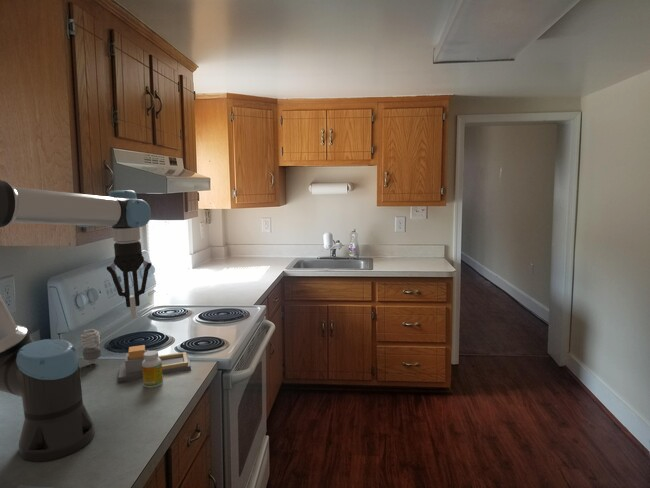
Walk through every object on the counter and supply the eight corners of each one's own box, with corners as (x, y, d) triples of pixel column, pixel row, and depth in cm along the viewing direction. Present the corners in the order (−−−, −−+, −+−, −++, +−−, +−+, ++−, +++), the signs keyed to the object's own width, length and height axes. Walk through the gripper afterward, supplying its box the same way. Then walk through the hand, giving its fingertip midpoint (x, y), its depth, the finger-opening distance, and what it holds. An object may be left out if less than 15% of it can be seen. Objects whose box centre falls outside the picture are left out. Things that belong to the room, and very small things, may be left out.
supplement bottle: (159, 388, 132) (156, 356, 131) (140, 388, 132) (137, 356, 131) (165, 379, 137) (163, 349, 136) (147, 380, 137) (145, 349, 136)
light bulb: (106, 360, 153) (102, 326, 151) (96, 367, 147) (92, 332, 146) (90, 360, 153) (86, 326, 152) (79, 367, 148) (75, 332, 146)
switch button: (129, 362, 140) (128, 352, 139) (130, 357, 144) (129, 347, 144) (145, 360, 141) (144, 349, 141) (145, 355, 146) (144, 344, 145)
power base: (118, 382, 136) (117, 364, 136) (120, 368, 147) (119, 352, 146) (191, 370, 144) (189, 353, 143) (188, 357, 154) (187, 342, 153)
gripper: (150, 238, 143) (156, 310, 147) (104, 241, 138) (112, 315, 142) (150, 241, 136) (156, 317, 140) (102, 244, 132) (110, 323, 135)
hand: (134, 316), depth 141 cm, fingers closed
